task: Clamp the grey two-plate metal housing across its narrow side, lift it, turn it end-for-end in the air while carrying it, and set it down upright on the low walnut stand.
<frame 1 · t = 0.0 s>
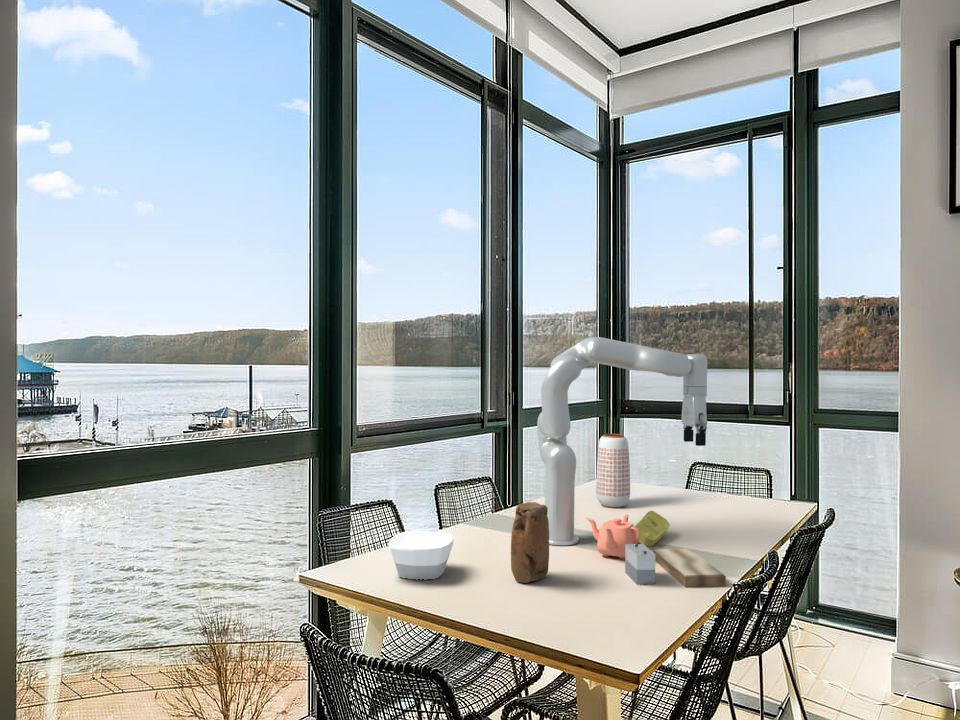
hand: (694, 443, 230), 31 cm above the table, fingers open, 9 cm apart
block: (529, 579, 188), on the table
walnut stand: (687, 571, 195), on the table
teapot: (612, 555, 211), on the table
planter: (612, 506, 277), on the table
bowl: (421, 574, 192), on the table
housing: (639, 578, 189), on the table
plastic component: (646, 540, 229), on the table
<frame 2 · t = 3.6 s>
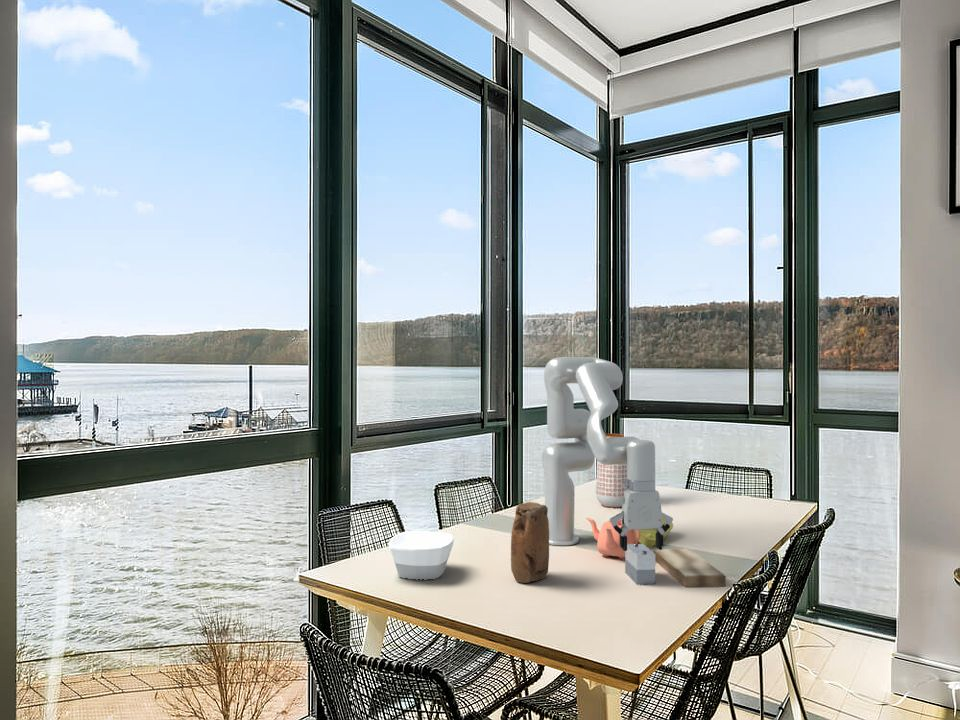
hand: (641, 549, 189), 8 cm above the table, fingers open, 9 cm apart
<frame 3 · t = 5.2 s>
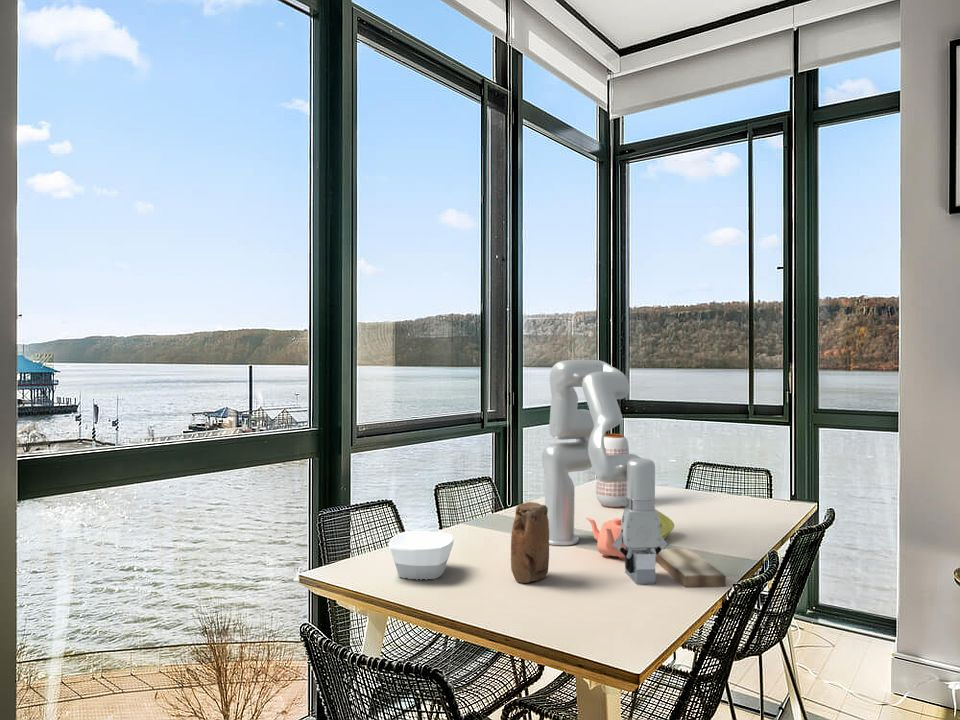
hand: (639, 570, 189), 2 cm above the table, fingers closed on housing, 5 cm apart
housing: (639, 578, 189), on the table, touching gripper
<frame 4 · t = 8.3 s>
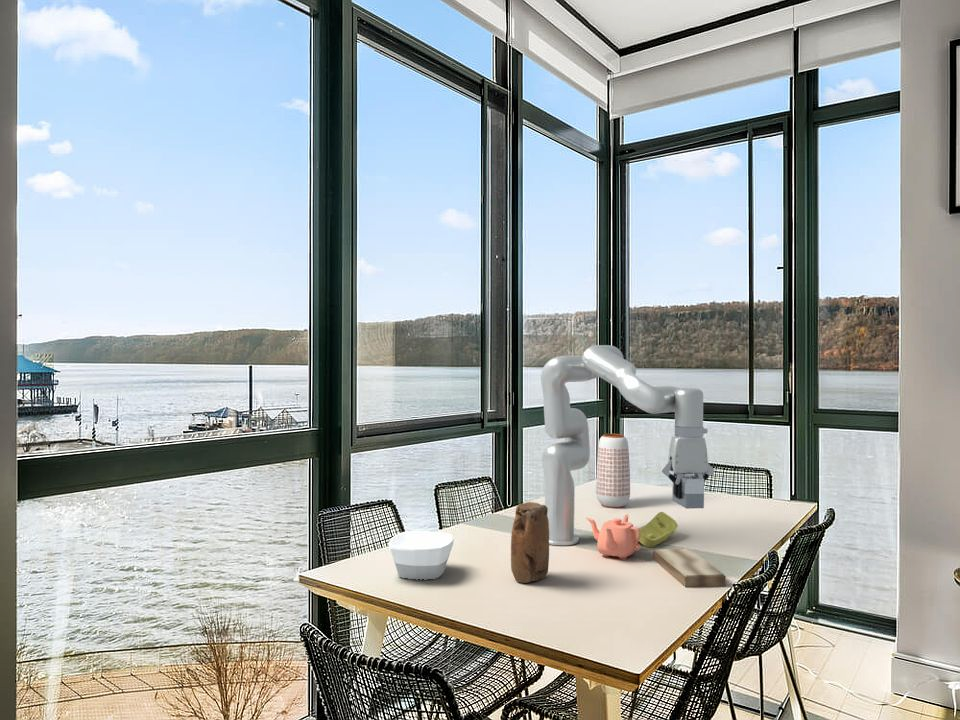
hand: (687, 497, 194), 21 cm above the table, fingers closed on housing, 5 cm apart
housing: (687, 504, 195), point 19 cm above the table, touching gripper
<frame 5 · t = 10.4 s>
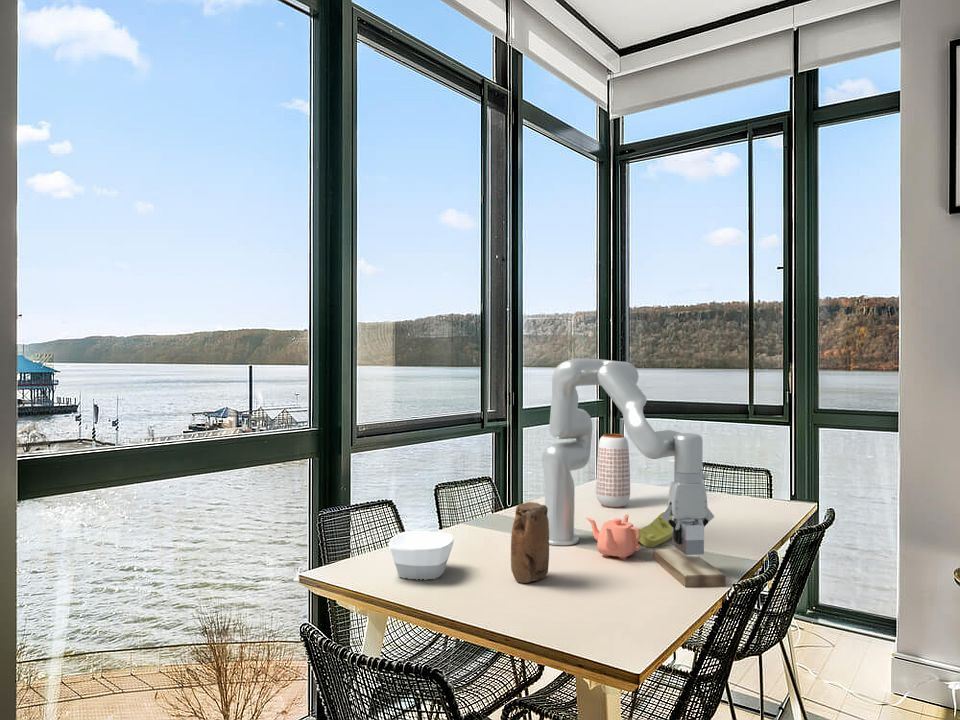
hand: (687, 542, 195), 8 cm above the table, fingers closed on housing, 5 cm apart
housing: (687, 549, 195), point 6 cm above the table, touching gripper
when the fingers open (6 cm above the table, at t = 11.7 s): housing drops 1 cm, resting on walnut stand.
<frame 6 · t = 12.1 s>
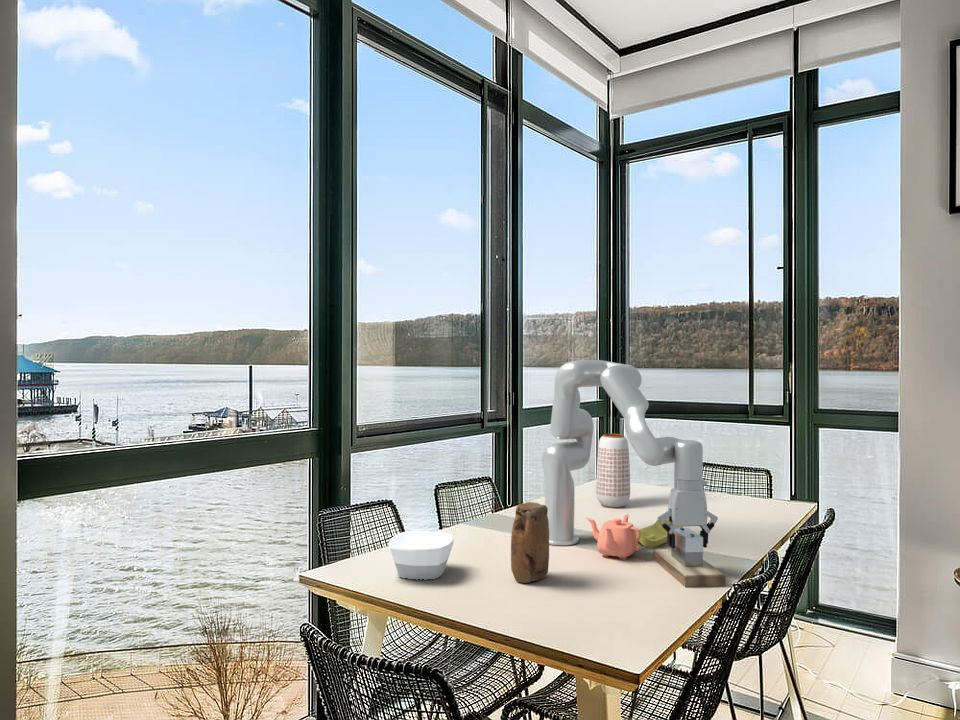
hand: (687, 546, 195), 7 cm above the table, fingers open, 8 cm apart
housing: (686, 561, 195), point 3 cm above the table, touching walnut stand
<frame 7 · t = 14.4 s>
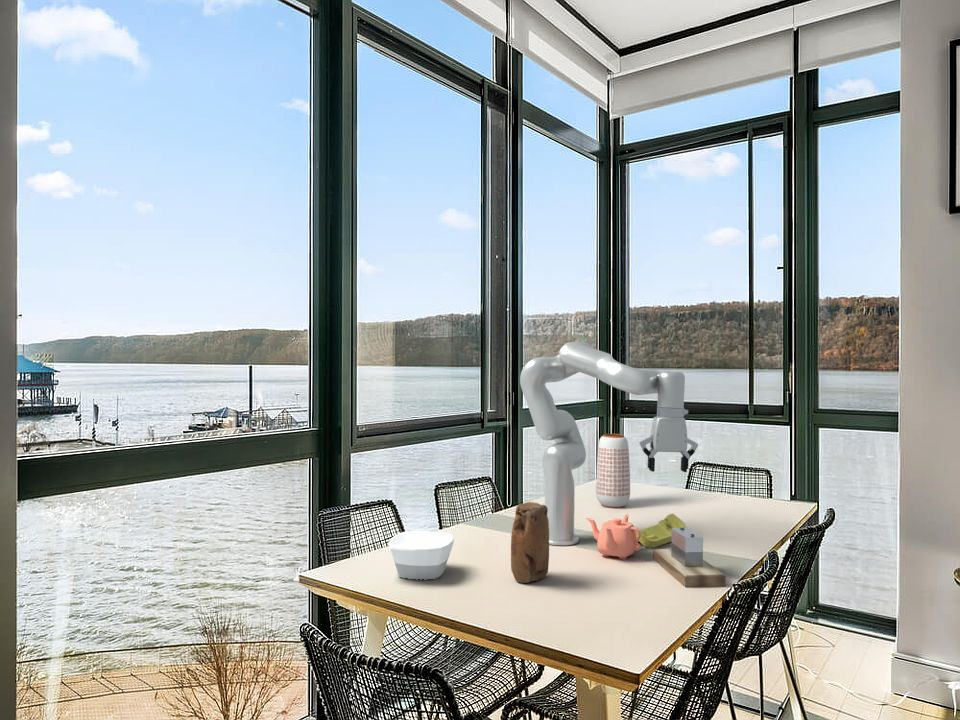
hand: (667, 471, 205), 26 cm above the table, fingers open, 9 cm apart
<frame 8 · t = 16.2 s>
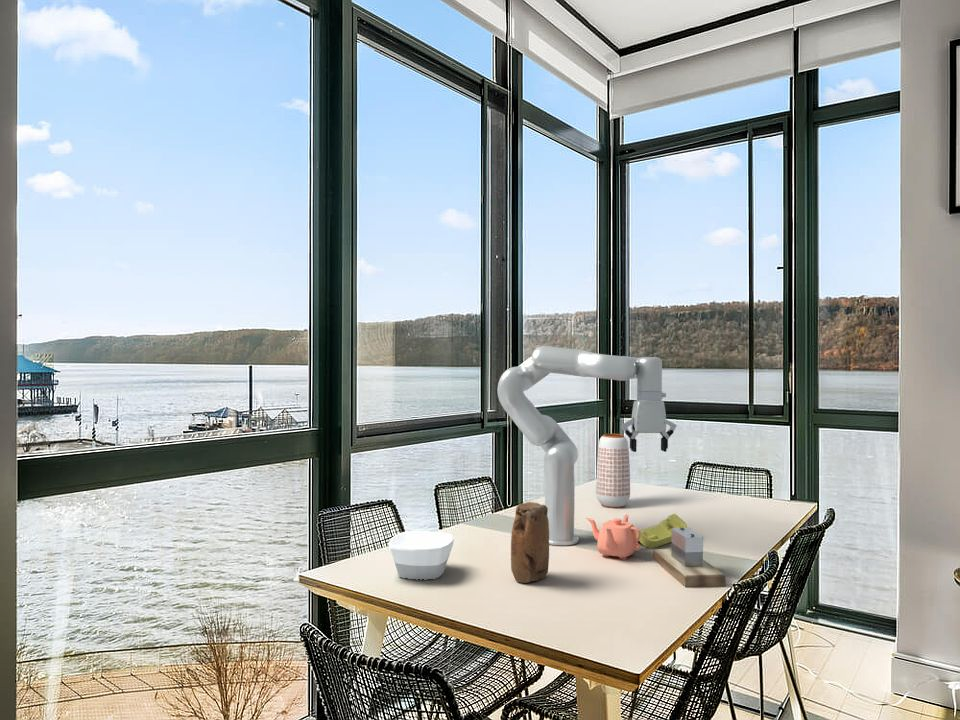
hand: (648, 451, 218), 30 cm above the table, fingers open, 9 cm apart
at the end: housing inside the target area (0.2 cm from its centre), point 3.0 cm above the table; housing tilted 0°; the gripper is holding nothing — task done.
